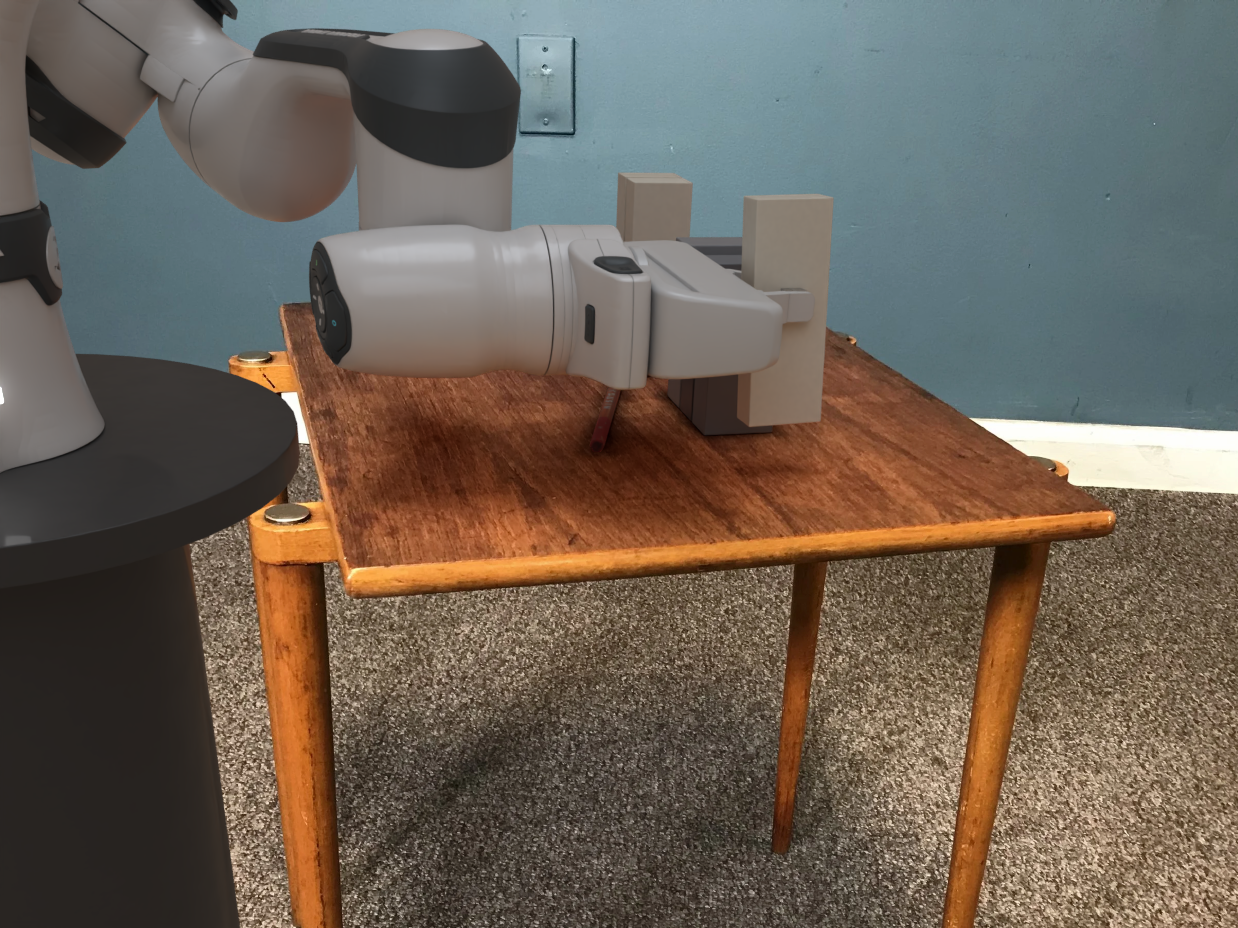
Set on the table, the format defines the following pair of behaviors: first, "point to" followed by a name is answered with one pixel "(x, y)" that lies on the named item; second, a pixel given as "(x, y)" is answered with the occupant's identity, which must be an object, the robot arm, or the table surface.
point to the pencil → (604, 420)
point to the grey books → (717, 396)
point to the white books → (653, 206)
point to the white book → (773, 259)
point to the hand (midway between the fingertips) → (798, 297)
